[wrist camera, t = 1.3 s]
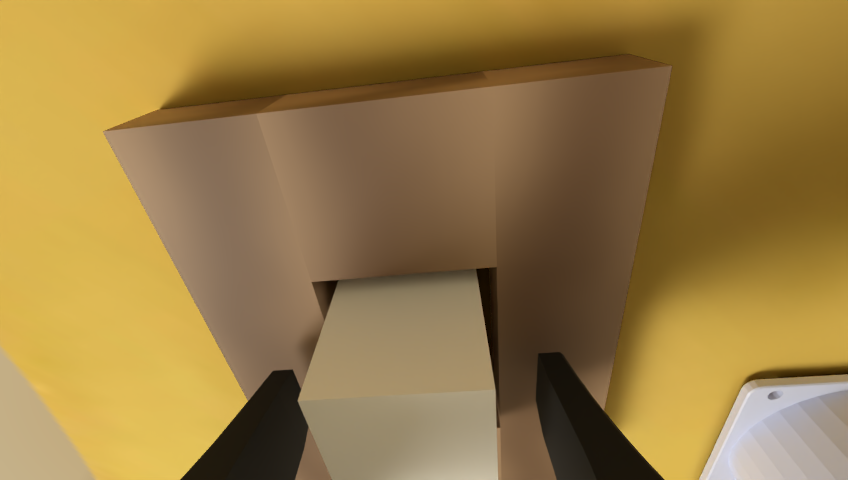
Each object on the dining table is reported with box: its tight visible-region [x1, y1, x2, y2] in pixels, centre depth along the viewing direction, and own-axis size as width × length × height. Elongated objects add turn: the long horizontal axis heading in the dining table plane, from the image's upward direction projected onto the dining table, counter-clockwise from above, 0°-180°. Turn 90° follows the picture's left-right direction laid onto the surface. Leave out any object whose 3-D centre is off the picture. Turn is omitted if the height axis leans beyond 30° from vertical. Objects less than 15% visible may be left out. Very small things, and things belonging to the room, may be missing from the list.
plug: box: [298, 269, 498, 480], centre depth 12 cm, size 4×6×6 cm, turn 7°
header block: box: [103, 54, 672, 480], centre depth 13 cm, size 12×16×2 cm
